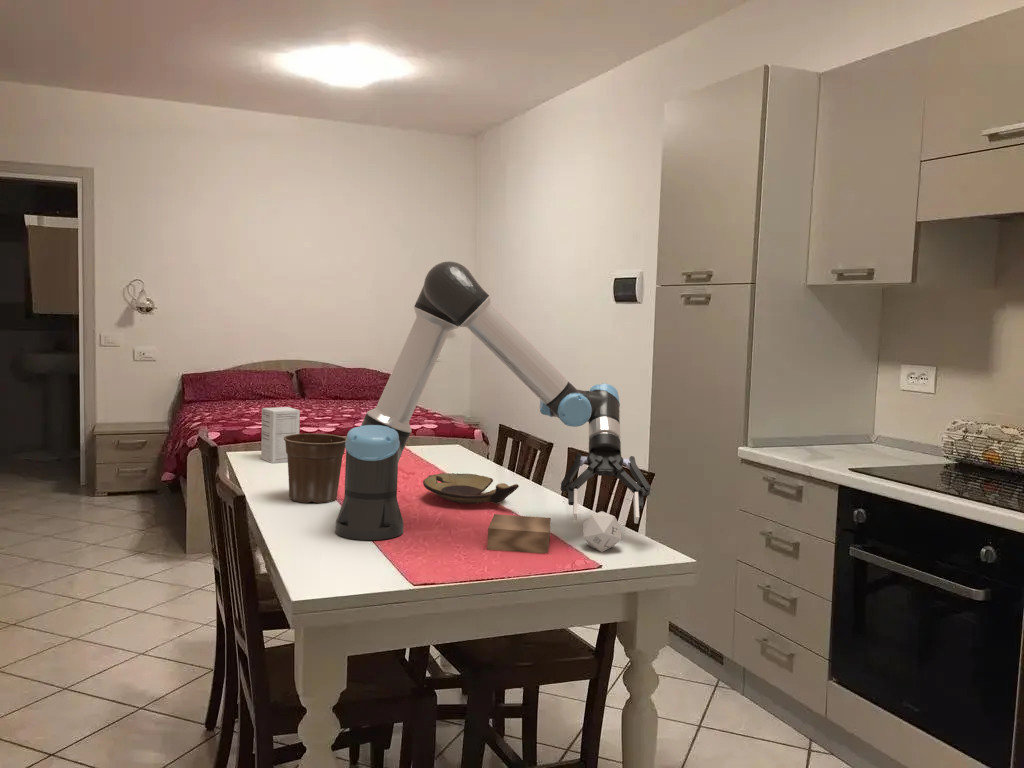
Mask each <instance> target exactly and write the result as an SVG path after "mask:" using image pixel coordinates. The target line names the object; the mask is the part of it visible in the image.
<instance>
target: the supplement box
mask: <svg viewBox="0 0 1024 768" xmlns="http://www.w3.org/2000/svg"><path fill="white" fill-rule="evenodd" d="M300 413H301V411H300V409H297V408H293V407H290V406H279V407H277V406H276V407H263V408H261V446H260V447H261V448H260V449H261V450H260V451H261V452H260V453H261V455H260V459H261V460H263V461H265V462H268V463H271V464H278V463H288V457H287V453H286V444H285V440H284V437H285V436H287V435H293V434H300V418H301V416H300Z"/></svg>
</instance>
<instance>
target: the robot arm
mask: <svg viewBox="0 0 1024 768" xmlns="http://www.w3.org/2000/svg"><path fill="white" fill-rule="evenodd" d="M427 272H428V273H427V274H426V276H425V278H424V283H423V286H422V288H421V290H420V293H419V294H418V297H417V300H416V301H415V304H414V306H413V310H414V313H415V315H416V317H415V320H414V322H413V324H412V326H411V328H410V330H409V333H408V335H407V337H406V340H405V342H404V344H403V346H402V348H401V351H400V353H399V355H398V357H397V359H396V362H395V364H394V366H393V369H392V371H391V374H390V376H389V378H388V380H387V383H386V385H385V386H384V388H383V391H382V394H381V396H380V397H379V400H378V402H377V404H376V407H375V408H373V409H370V410H367V411H366V413H365V416H364V417H363V420H362V422H361V425H360V426H356V427H355V426H354V427H353V428H351V429H349V431H348V432H347V434H346V438H347V439H346V442H345V468H344V469H345V471H344V472H345V473H344V497H343V501H342V503H341V506H340V509H339V512H338V514H337V517H336V520H335V529H334V530H335V531H334V532H335V533H336V535H338V536H340V537H342V538H345V539H351V540H359V541H361V540H362V541H381V540H388V539H393V538H396V537H400V536H401V535H402V534H403V533H404V523H405V522H404V519H403V516H402V511H401V510H400V508H401V507H400V505H399V502H398V474H399V471H398V469H399V463H400V459H401V456H402V454H403V451H404V449H405V447H406V445H407V444H408V443H407V442H408V440H409V439H410V435H411V434H412V431H413V430H412V427H411V424H410V421H411V418H412V416H413V414H414V412H415V410H416V407H417V404H418V402H419V400H420V398H421V396H422V394H423V391H424V389H425V387H426V384H427V383H428V380H429V378H430V376H431V374H432V371H433V370H434V367H435V365H436V362H437V361H438V358H439V355H440V354H441V351H442V349H443V347H444V346H445V342H446V340H447V338H448V336H449V334H450V332H451V331H454V330H457V329H459V327H460V328H467V329H468V330H469V331H470V332H471V333H472V334H473V335H474V336H475V337H476V338H478V340H479V341H480V342H481V343H482V344H483V345H484V346H485V347H486V348H488V349H489V351H490V352H491V353H492V354H493V355H494V356H495V357H496V358H497V359H499V361H501V363H503V364H504V365H505V366H506V367H507V369H509V371H511V372H512V373H513V375H515V376H516V377H517V378H518V379H519V381H521V382H522V383H523V384H524V385H525V386H526V387H527V388H528V389H529V390H530V392H532V393H533V394H534V395H535V396H536V397H537V398H538V399H540V401H539V412H540V414H542V415H544V416H548V417H550V418H552V417H554V418H558V419H559V420H560V421H561V422H562V424H564V425H565V426H567V427H573V428H575V427H576V428H577V427H581V426H584V425H585V424H586V423H587V422H588V455H587V456H584V455H582V454H581V453H579V452H578V453H576V454H575V460H574V462H573V463H572V464H571V466H570V469H568V471H567V473H566V474H565V476H564V478H563V479H562V480H561V483H560V491H561V492H566V493H567V494H568V495H567V496H568V497H567V499H568V505H569V506H573V507H572V509H573V510H572V521H577V519H578V518H577V517H578V490H579V489H580V488H581V487H582V486H583V485H584V484H586V482H587V481H588V480H589V479H590V478H593V477H594V475H597V476H600V477H601V476H602V477H603V476H606V477H612V476H614V477H615V478H616V479H617V480H620V482H622V484H623V485H624V486H625V487H626V488H627V489H628V490H629V491H630V492H631V493H632V494H633V498H632V499H633V521H634V524H639V520H640V510H642V509H643V507H644V497H645V496H646V497H648V496H650V493H651V491H652V488H651V485H650V484H649V482H648V481H647V478H645V476H644V474H643V473H642V472H641V469H640V468H639V467H638V465H637V463H636V458H635V456H633V455H631V456H629V458H623V457H622V447H621V444H622V443H621V442H622V441H621V425H620V424H621V422H620V417H621V415H620V412H621V411H620V408H621V403H620V396H619V392H618V389H617V388H616V387H614V386H613V385H612V384H608V383H601V384H599V383H598V384H597V383H596V384H594V385H593V386H592V387H590V388H589V390H582V389H578V388H576V387H575V386H574V385H573V384H572V383H571V382H570V381H569V380H568V378H566V377H565V376H564V375H563V374H562V373H561V372H560V371H559V370H558V369H557V368H556V367H555V366H554V365H553V364H552V363H551V362H550V361H549V360H548V359H547V358H546V357H545V356H544V355H543V354H542V353H541V352H540V351H539V350H538V349H537V348H536V347H535V346H534V344H532V343H531V342H530V341H529V340H528V339H527V338H526V337H525V336H524V335H523V334H522V333H521V332H520V331H519V330H518V329H517V328H516V327H515V326H514V325H513V324H512V323H511V322H510V321H509V320H508V318H506V317H505V316H504V315H503V314H502V313H501V312H500V311H499V310H498V309H496V307H495V306H494V305H493V304H492V303H491V295H489V294H488V293H487V292H486V291H485V289H484V288H483V287H482V286H481V285H480V284H479V282H477V280H476V279H475V277H474V275H473V274H472V273H471V271H470V270H469V269H468V268H467V267H466V266H465V265H462V264H461V263H459V262H456V261H443V262H440V263H437V264H434V266H433V267H431V269H429V271H427ZM585 463H586V464H587V466H588V467H587V468H586V469H585V470H584V471H583V472H582V473H581V474H580V475H578V476H577V478H575V479H574V477H576V474H577V473H578V471H579V469H580V467H583V465H584V464H585ZM623 465H624V466H625V467H626V468H627V469H629V472H630V473H631V475H632V477H633V478H634V479H633V478H632V477H631V476H630V475H629V474H628V473H627V472H626V471H625V469H624V468H623ZM573 479H574V480H573Z"/></svg>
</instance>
